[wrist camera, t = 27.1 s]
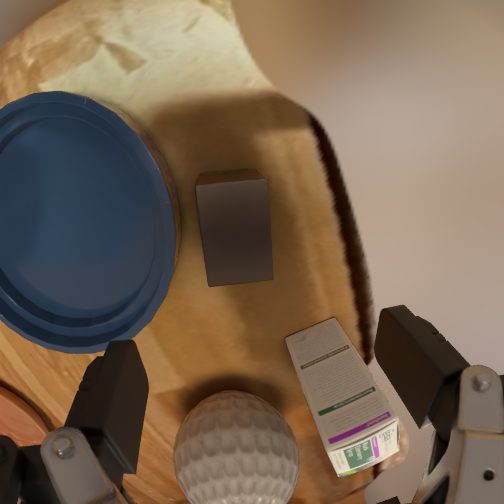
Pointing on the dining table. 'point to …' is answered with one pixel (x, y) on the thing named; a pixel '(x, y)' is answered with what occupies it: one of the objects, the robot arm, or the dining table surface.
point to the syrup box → (343, 398)
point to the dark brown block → (235, 226)
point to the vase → (236, 452)
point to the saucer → (20, 420)
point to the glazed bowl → (82, 223)
